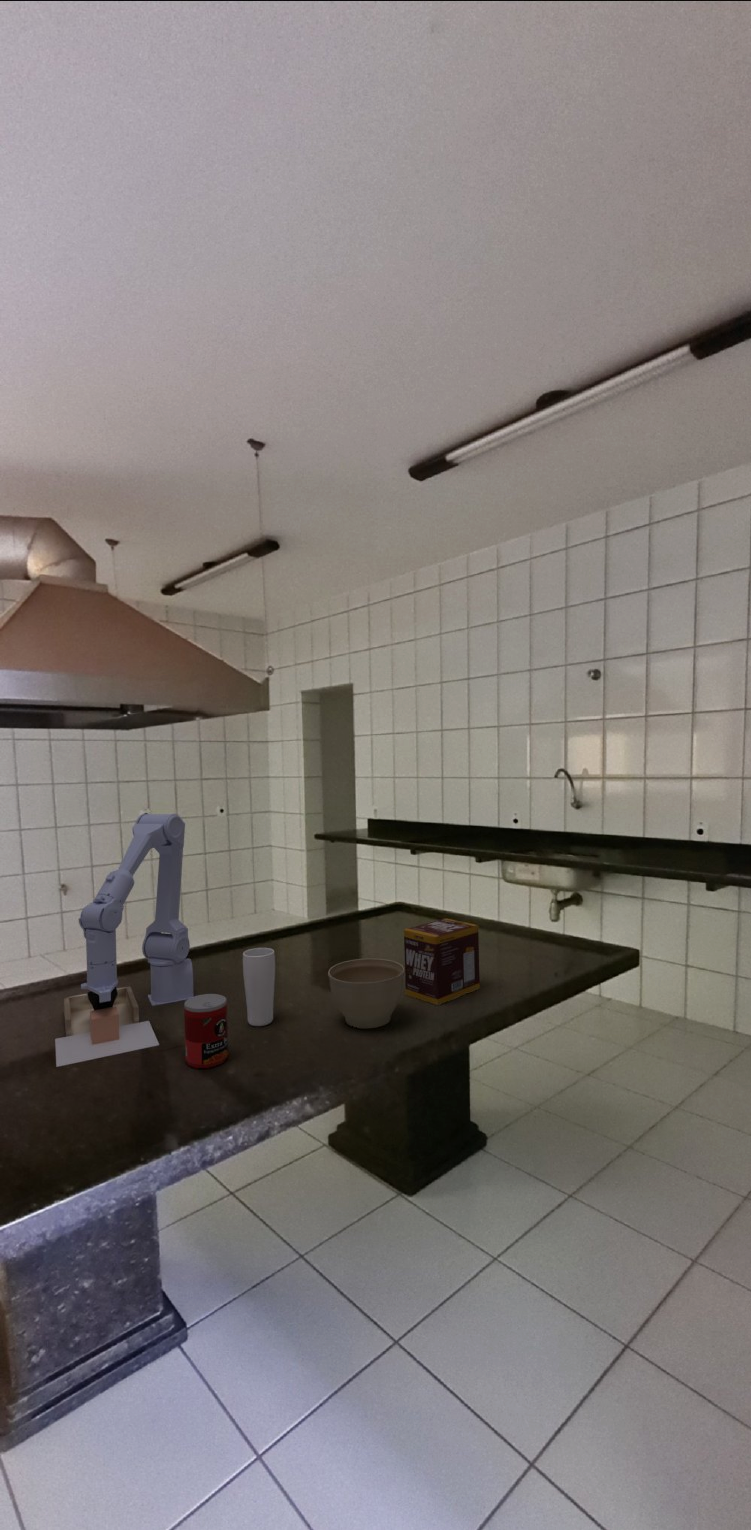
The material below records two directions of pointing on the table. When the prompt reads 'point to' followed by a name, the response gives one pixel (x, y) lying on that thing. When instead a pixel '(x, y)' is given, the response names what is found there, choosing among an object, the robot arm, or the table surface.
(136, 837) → the robot arm
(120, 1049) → the mat
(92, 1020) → the block
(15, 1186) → the table surface
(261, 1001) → the drinking glass
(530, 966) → the table surface
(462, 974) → the supplement box
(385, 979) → the planter bowl
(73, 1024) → the open box
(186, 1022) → the canned food
